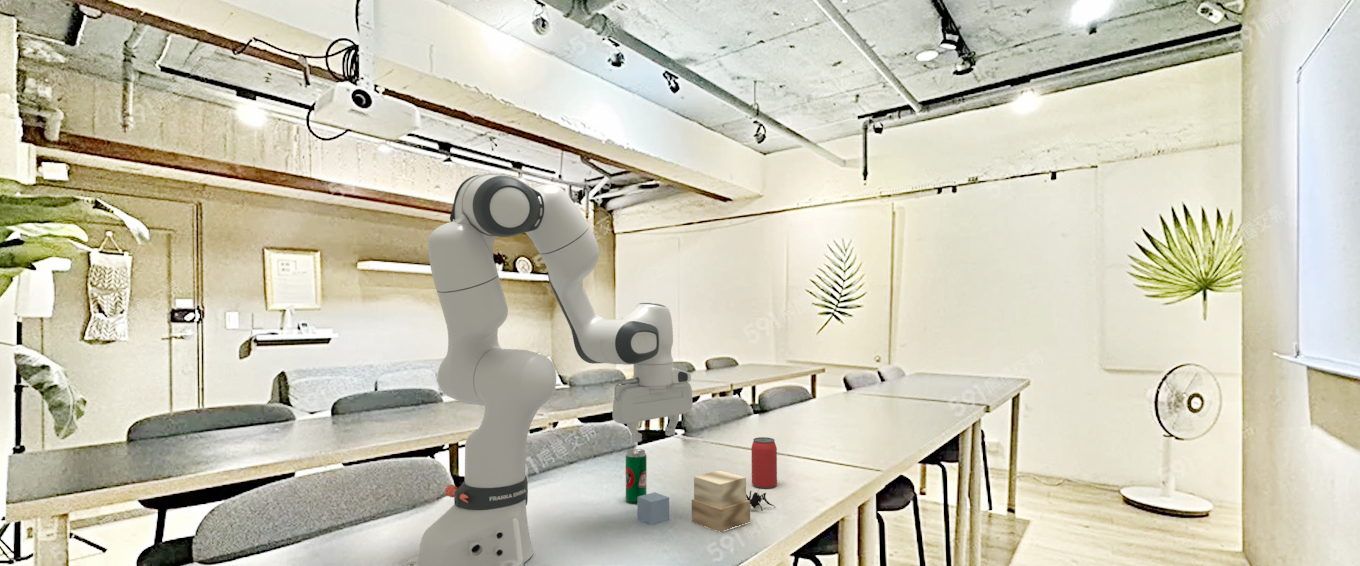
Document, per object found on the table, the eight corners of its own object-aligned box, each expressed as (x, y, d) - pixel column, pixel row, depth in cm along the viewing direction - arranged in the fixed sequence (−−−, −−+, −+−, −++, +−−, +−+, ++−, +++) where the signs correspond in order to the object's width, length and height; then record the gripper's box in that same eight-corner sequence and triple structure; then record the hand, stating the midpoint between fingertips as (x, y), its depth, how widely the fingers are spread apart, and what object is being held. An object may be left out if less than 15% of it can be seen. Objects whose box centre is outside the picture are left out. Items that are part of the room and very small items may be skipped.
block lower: (720, 534, 128) (720, 509, 128) (691, 522, 135) (691, 499, 135) (750, 524, 134) (750, 500, 134) (721, 513, 140) (721, 491, 141)
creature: (747, 506, 149) (735, 507, 142) (749, 482, 150) (736, 483, 143) (778, 511, 145) (767, 513, 138) (780, 487, 146) (768, 488, 140)
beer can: (747, 483, 163) (746, 438, 164) (768, 480, 166) (767, 435, 167) (760, 490, 157) (760, 443, 158) (782, 487, 160) (781, 440, 161)
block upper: (720, 508, 129) (720, 484, 129) (694, 499, 135) (694, 476, 135) (746, 500, 134) (746, 477, 134) (719, 492, 140) (719, 470, 140)
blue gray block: (651, 525, 133) (651, 502, 133) (637, 519, 136) (637, 496, 136) (669, 520, 136) (669, 497, 136) (655, 514, 140) (655, 492, 140)
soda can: (643, 504, 146) (643, 453, 147) (623, 503, 147) (623, 452, 148) (648, 498, 151) (648, 448, 152) (628, 497, 152) (628, 448, 153)
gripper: (623, 381, 128) (623, 448, 128) (696, 373, 141) (697, 434, 141) (606, 378, 133) (606, 443, 132) (678, 371, 146) (679, 429, 146)
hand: (653, 438), depth 137 cm, fingers open, 8 cm apart
